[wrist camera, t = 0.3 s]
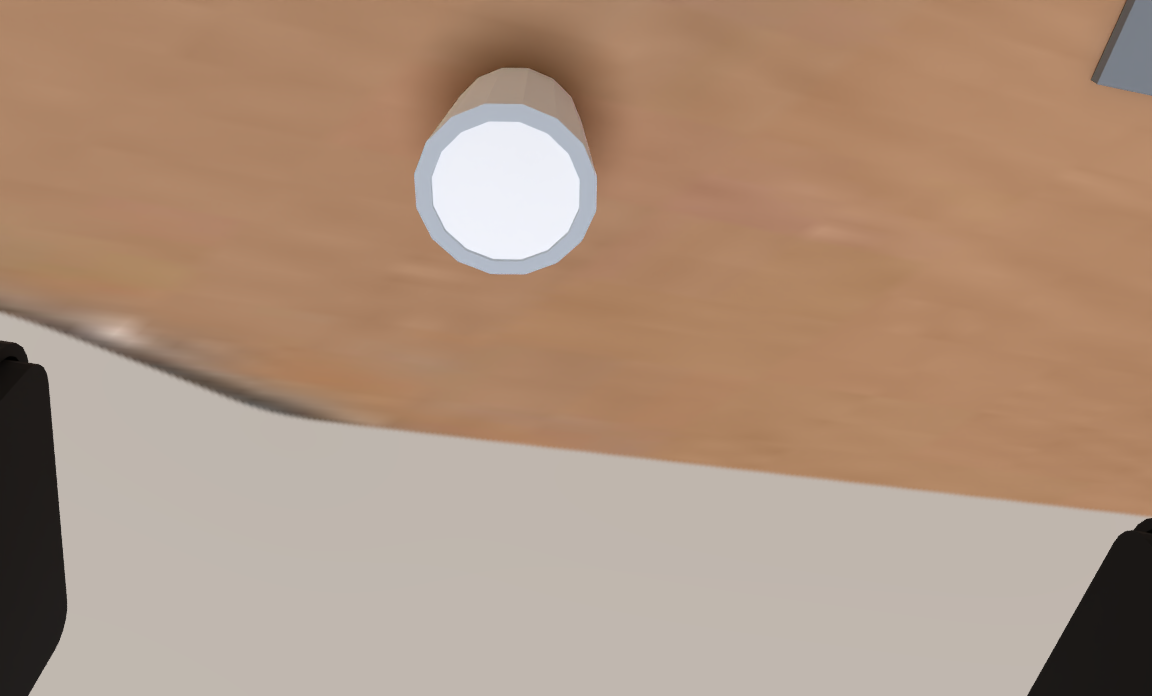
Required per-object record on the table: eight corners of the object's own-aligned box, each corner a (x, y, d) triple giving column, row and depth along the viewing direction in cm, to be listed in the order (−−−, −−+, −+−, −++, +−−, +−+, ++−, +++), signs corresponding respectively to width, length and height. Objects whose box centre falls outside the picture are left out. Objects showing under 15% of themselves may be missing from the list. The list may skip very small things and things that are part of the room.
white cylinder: (626, 155, 45) (633, 219, 39) (497, 233, 47) (484, 307, 41) (538, 18, 43) (529, 65, 36) (403, 108, 44) (375, 168, 38)
